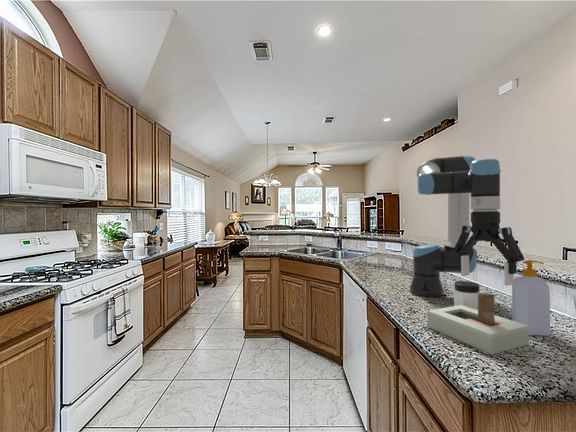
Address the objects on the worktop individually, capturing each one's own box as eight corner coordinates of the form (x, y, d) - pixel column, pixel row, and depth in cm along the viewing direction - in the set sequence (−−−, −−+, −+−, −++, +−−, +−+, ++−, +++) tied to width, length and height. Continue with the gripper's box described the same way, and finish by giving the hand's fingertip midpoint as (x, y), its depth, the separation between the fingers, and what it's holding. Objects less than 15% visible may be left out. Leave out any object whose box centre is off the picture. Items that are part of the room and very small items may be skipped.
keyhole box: (427, 326, 102) (427, 310, 102) (461, 320, 108) (460, 304, 108) (491, 354, 81) (491, 334, 81) (528, 344, 87) (528, 325, 87)
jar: (456, 317, 111) (456, 285, 110) (451, 310, 118) (451, 280, 118) (484, 319, 108) (483, 286, 108) (477, 312, 116) (477, 281, 116)
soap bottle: (553, 336, 92) (552, 263, 92) (528, 335, 93) (527, 262, 93) (535, 326, 101) (534, 258, 101) (512, 325, 102) (511, 258, 102)
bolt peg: (473, 338, 92) (473, 293, 92) (484, 335, 94) (483, 291, 94) (488, 344, 88) (488, 297, 88) (499, 341, 90) (499, 295, 89)
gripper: (441, 211, 101) (442, 273, 101) (521, 210, 78) (522, 291, 78) (457, 210, 104) (458, 271, 104) (539, 210, 80) (540, 288, 81)
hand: (485, 279), depth 91 cm, fingers open, 13 cm apart
